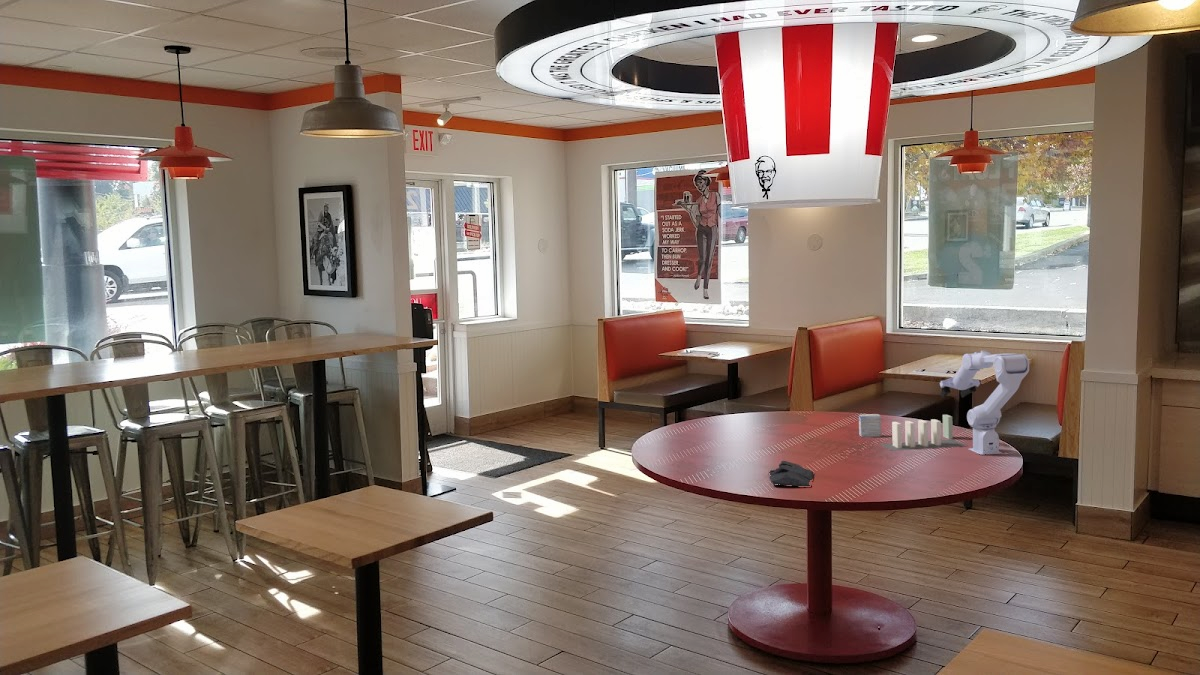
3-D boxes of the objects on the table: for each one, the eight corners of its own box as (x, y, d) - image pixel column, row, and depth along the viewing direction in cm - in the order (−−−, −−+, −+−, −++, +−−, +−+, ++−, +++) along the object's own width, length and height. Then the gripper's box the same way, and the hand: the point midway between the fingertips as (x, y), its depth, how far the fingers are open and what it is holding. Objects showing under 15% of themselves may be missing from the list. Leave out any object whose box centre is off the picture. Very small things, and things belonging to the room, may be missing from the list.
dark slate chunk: (764, 489, 299) (764, 474, 298) (769, 473, 320) (768, 459, 320) (813, 489, 295) (813, 475, 295) (814, 473, 316) (814, 459, 316)
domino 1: (896, 445, 350) (896, 421, 349) (901, 447, 345) (901, 423, 344) (892, 445, 350) (892, 421, 349) (897, 448, 345) (897, 424, 344)
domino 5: (947, 437, 361) (946, 414, 361) (952, 439, 356) (952, 416, 356) (943, 437, 361) (942, 414, 361) (948, 440, 356) (948, 416, 356)
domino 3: (922, 443, 351) (922, 420, 350) (928, 446, 346) (927, 422, 345) (918, 443, 351) (918, 420, 350) (923, 446, 346) (923, 422, 345)
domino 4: (935, 442, 351) (935, 419, 350) (941, 445, 346) (940, 421, 345) (931, 442, 351) (930, 419, 350) (937, 445, 346) (936, 421, 345)
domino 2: (909, 444, 350) (909, 420, 350) (915, 447, 345) (914, 423, 345) (905, 444, 350) (905, 421, 349) (910, 447, 345) (910, 423, 344)
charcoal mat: (968, 446, 343) (968, 445, 343) (891, 451, 341) (891, 450, 341) (953, 440, 355) (953, 439, 355) (879, 445, 353) (879, 444, 353)
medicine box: (879, 435, 372) (878, 413, 371) (881, 437, 368) (880, 415, 367) (859, 435, 373) (858, 414, 372) (861, 437, 368) (860, 416, 368)
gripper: (980, 366, 348) (967, 386, 359) (942, 367, 347) (930, 387, 357) (986, 381, 343) (972, 401, 354) (948, 382, 342) (936, 403, 353)
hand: (952, 395), depth 356 cm, fingers open, 7 cm apart
